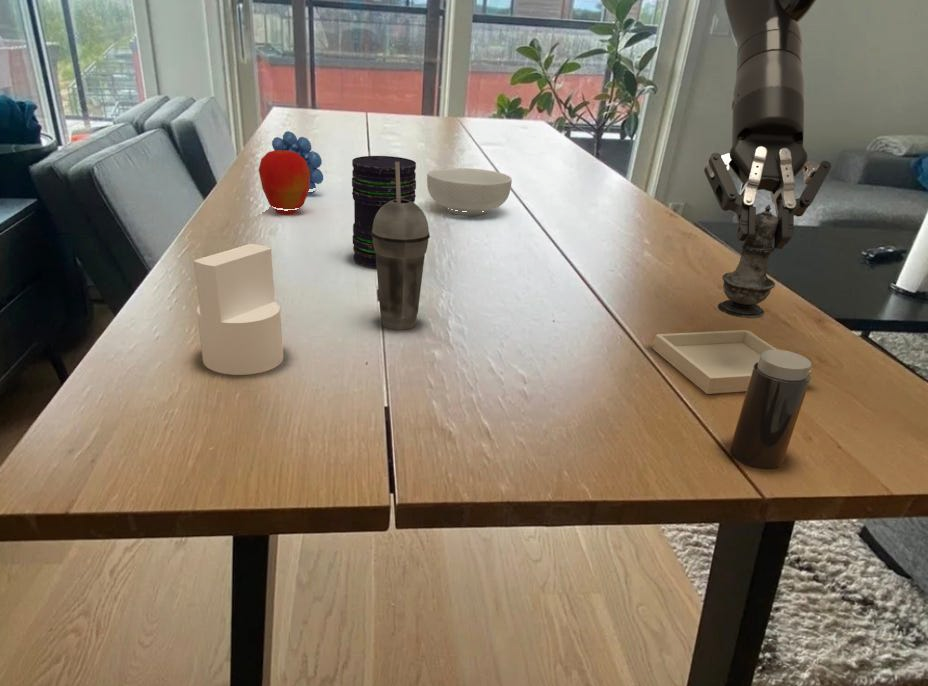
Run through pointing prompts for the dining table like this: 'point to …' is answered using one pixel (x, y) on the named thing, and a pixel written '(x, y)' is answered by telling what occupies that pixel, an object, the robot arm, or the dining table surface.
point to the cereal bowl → (468, 189)
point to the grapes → (303, 149)
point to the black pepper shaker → (770, 408)
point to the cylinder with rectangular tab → (238, 311)
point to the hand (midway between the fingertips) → (765, 243)
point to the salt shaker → (751, 272)
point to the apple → (284, 180)
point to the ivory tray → (713, 357)
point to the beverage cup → (399, 259)
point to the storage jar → (376, 197)
